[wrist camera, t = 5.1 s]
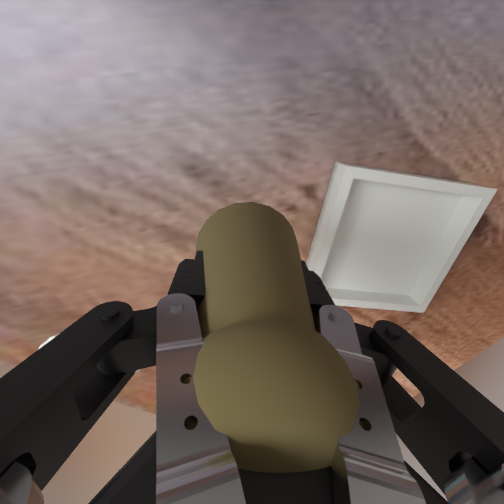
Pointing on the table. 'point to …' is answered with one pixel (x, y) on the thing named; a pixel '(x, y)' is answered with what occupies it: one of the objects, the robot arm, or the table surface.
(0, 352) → the table surface
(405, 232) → the tray
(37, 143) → the table surface
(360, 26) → the table surface
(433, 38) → the table surface
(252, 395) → the olive rounded piece
